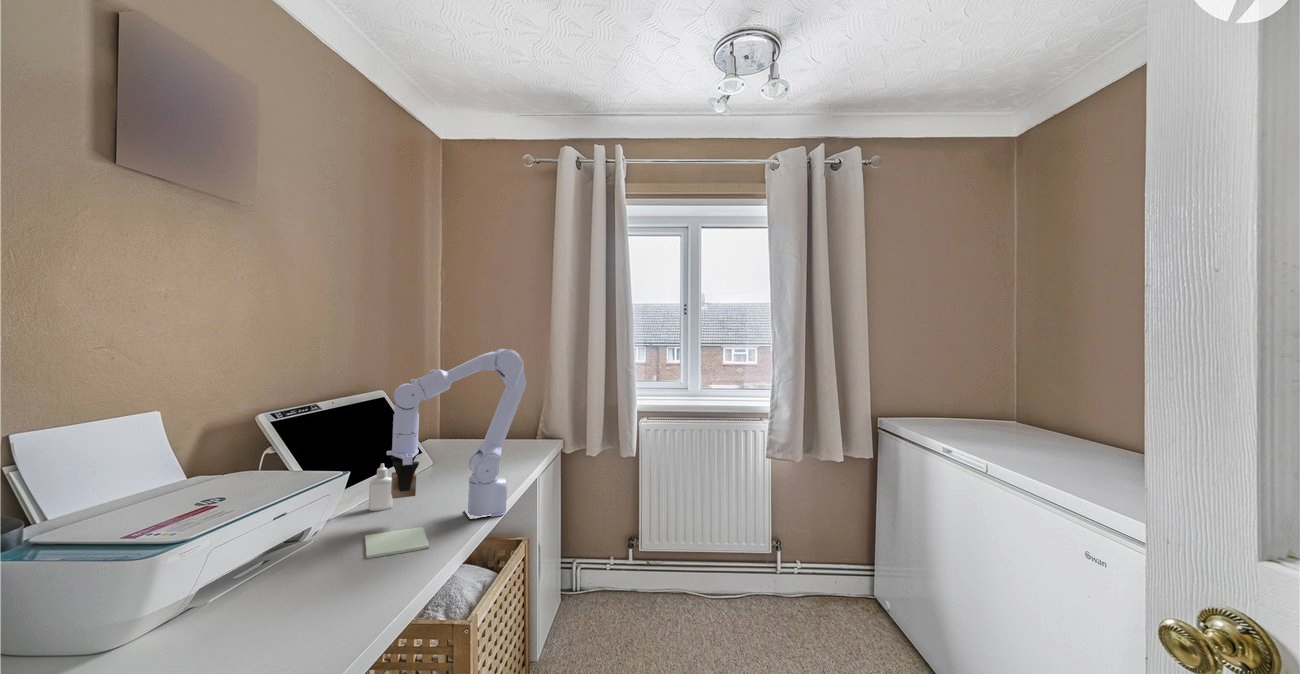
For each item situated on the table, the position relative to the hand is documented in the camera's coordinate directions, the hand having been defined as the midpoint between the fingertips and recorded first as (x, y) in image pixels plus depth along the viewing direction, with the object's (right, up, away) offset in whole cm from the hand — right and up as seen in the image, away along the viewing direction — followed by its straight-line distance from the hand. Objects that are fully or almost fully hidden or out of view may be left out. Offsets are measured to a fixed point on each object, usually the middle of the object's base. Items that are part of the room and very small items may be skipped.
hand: (403, 487), depth 122 cm
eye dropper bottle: (-11, -9, +10) cm, 17 cm away
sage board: (+4, -9, -11) cm, 15 cm away
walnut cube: (0, -2, 0) cm, 2 cm away
